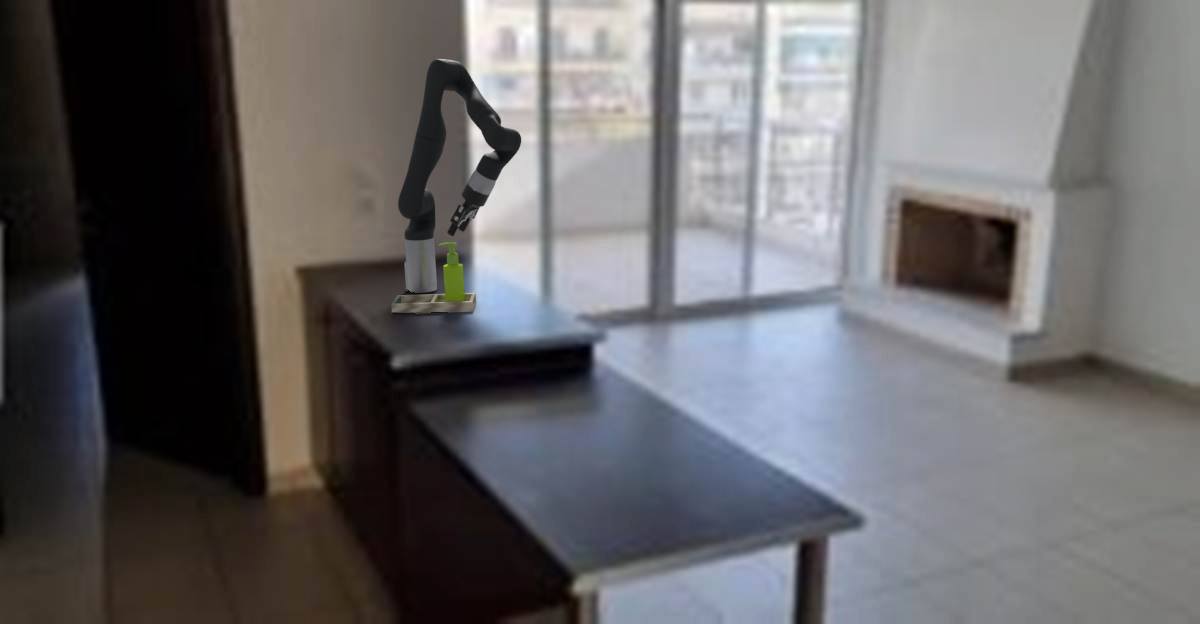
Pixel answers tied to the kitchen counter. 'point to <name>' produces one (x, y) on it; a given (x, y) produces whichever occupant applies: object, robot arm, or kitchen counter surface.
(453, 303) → the caddy
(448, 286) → the soap dispenser
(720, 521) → the kitchen counter surface
